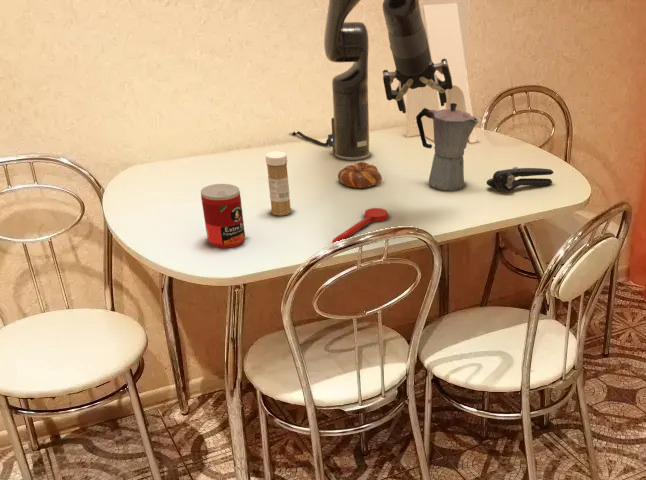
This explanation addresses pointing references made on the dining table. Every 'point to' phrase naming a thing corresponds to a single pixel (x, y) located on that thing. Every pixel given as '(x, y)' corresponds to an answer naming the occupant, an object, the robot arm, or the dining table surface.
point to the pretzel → (359, 175)
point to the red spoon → (364, 222)
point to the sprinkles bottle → (278, 182)
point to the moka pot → (448, 145)
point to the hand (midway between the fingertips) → (423, 107)
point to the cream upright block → (444, 43)
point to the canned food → (223, 215)
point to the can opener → (507, 181)
